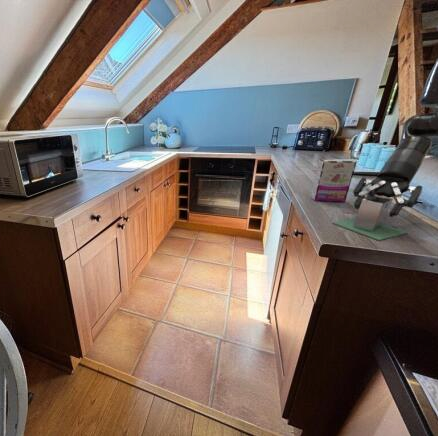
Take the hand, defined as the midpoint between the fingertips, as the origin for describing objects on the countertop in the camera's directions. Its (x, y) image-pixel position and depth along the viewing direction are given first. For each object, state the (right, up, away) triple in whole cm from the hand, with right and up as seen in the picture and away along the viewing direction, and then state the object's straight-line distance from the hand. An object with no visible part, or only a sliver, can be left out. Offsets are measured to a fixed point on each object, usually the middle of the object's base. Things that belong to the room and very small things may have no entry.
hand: (372, 211), depth 72 cm
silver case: (+1, -5, +3) cm, 6 cm away
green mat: (+1, -5, +3) cm, 6 cm away
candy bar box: (+7, +5, +29) cm, 30 cm away
